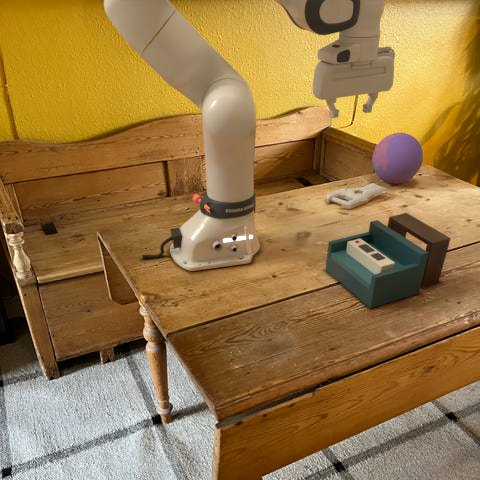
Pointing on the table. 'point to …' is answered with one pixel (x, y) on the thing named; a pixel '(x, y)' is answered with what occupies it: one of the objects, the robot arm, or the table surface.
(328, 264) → the teal armchair
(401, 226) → the brown wooden box
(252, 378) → the table surface
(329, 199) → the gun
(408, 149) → the decorative ball
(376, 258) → the remote
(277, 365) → the table surface
